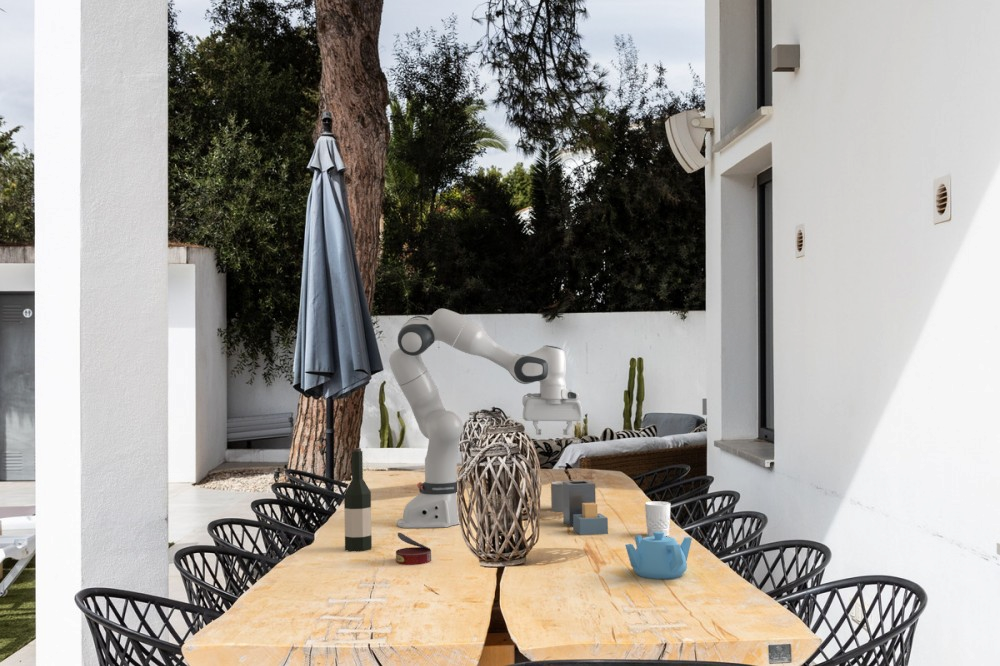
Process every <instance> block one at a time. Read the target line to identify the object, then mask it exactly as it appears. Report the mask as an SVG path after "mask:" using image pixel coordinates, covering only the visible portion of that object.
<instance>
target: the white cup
mask: <svg viewBox="0 0 1000 666" xmlns="http://www.w3.org/2000/svg"><path fill="white" fill-rule="evenodd" d="M644 508H645V510H644V511H645V522H646V527H647V528H646V529H647V530H646V531H647V537H650V536H654V535H653V532H664V536H667V537H669V536H670V527H671V502H668V501H655V500H654V501H647V502H645V503H644Z"/></svg>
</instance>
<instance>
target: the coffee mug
mask: <svg viewBox="0 0 1000 666" xmlns="http://www.w3.org/2000/svg"><path fill="white" fill-rule="evenodd" d="M563 481H564V480H559V481H552V482H551V483H550V488H551V489H550V497H551V498H550V501H551V503H550V504H551V511H552V512H555V513H563Z"/></svg>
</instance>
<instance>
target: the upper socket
mask: <svg viewBox="0 0 1000 666" xmlns="http://www.w3.org/2000/svg"><path fill="white" fill-rule="evenodd" d="M562 481H563V512H562V514H563V515H562V517H563V518H562V519H563V521H562V522H563V524H565V525H566V526H567V527H568V528H573V515H576V514H582V503H596V502H597V501H596V483H595V482H592V481H590V480H562ZM596 504H597V503H596Z"/></svg>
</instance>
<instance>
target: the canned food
mask: <svg viewBox="0 0 1000 666" xmlns="http://www.w3.org/2000/svg"><path fill="white" fill-rule="evenodd" d="M397 536H398V538H399V539H400V540H401V541H402V542H404V543H407V544H409V545H411V546H412V545H413V546H414V547H413V546H412V547H405V548H404V547H403V548H400V549H397V550H396V551H395V563H396V564H398V565H404V566H414V565H415V566H416V565H425V564H429V563H430V562H432V549H431V548H430V547H428V546H425V545H424V544H421V543H419V542H417V541H416V540H414V539H412V538H411V537H409V536H406V535H405V534H404V533H402V532H397Z"/></svg>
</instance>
